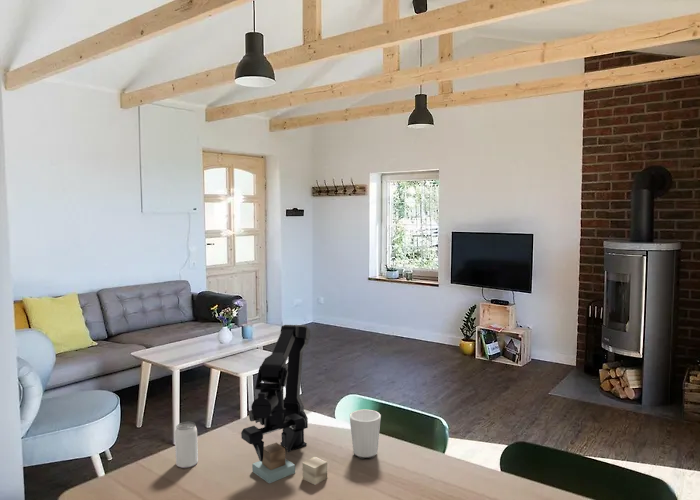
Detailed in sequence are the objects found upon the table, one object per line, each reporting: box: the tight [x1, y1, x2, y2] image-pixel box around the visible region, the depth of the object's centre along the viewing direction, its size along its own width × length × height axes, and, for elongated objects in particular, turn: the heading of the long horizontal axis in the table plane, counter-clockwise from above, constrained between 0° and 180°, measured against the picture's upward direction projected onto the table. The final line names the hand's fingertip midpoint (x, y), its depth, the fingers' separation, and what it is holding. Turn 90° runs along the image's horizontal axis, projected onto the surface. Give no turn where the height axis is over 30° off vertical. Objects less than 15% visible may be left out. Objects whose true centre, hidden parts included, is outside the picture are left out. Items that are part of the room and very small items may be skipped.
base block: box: [251, 458, 296, 484], centre depth 159 cm, size 9×9×3 cm
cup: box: [349, 408, 382, 460], centre depth 169 cm, size 10×10×13 cm
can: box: [174, 421, 199, 469], centre depth 164 cm, size 6×6×12 cm
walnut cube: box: [262, 442, 286, 470], centre depth 158 cm, size 5×5×5 cm
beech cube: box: [302, 456, 328, 486], centre depth 155 cm, size 5×5×5 cm
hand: (274, 456), depth 158 cm, fingers open, 9 cm apart
